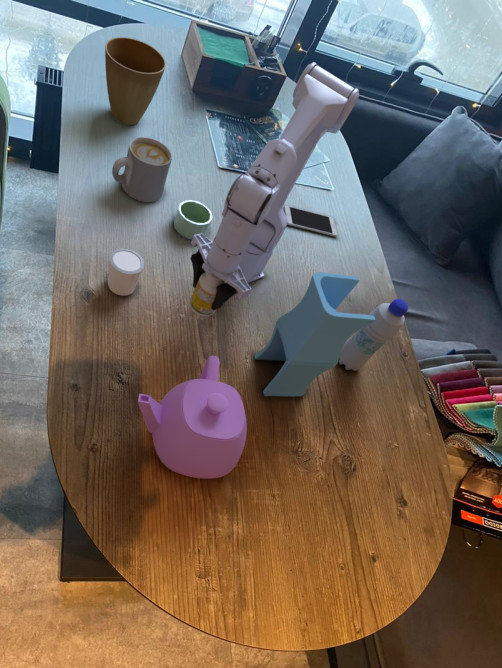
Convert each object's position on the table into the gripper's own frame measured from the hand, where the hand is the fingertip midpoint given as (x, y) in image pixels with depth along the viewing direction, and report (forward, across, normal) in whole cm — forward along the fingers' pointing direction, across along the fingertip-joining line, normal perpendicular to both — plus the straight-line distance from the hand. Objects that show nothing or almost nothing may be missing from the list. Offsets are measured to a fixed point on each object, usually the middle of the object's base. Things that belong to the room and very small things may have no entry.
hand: (206, 296), depth 97 cm
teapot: (+10, +18, -17) cm, 27 cm away
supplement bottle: (+3, 0, 0) cm, 3 cm away
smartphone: (+10, -14, +54) cm, 57 cm away
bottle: (+10, +24, +28) cm, 38 cm away
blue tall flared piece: (+10, +18, +10) cm, 23 cm away
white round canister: (+10, -16, -7) cm, 20 cm away
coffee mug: (+10, -41, +14) cm, 44 cm away
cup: (+10, -25, +19) cm, 33 cm away
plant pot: (+10, -66, +28) cm, 72 cm away
